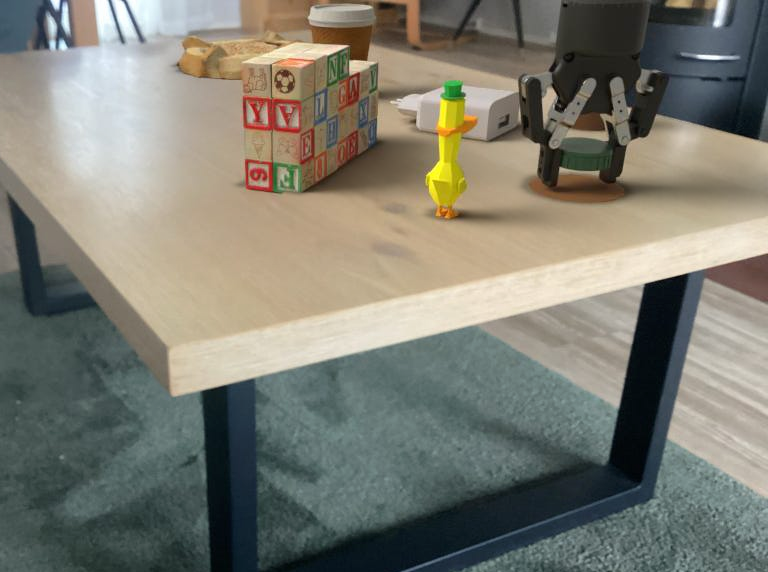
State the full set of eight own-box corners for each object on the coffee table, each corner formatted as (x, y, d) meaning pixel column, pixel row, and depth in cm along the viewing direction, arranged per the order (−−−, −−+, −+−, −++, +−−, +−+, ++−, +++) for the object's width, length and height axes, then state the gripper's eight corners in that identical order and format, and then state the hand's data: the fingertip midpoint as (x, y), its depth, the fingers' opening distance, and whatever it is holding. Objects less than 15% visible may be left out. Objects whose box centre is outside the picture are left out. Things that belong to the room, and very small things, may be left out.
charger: (410, 114, 115) (517, 129, 107) (374, 127, 108) (485, 145, 100) (412, 77, 112) (522, 89, 105) (376, 88, 106) (490, 103, 98)
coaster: (626, 183, 87) (627, 179, 86) (621, 210, 79) (622, 206, 79) (534, 174, 90) (535, 170, 89) (521, 200, 82) (522, 196, 82)
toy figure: (448, 204, 81) (459, 72, 75) (482, 211, 79) (496, 76, 74) (411, 223, 77) (420, 84, 71) (447, 232, 75) (459, 89, 69)
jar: (609, 125, 108) (624, 37, 103) (607, 135, 104) (623, 44, 99) (566, 122, 110) (578, 35, 105) (563, 131, 105) (575, 42, 100)
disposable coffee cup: (300, 101, 122) (300, 10, 116) (315, 88, 130) (315, 2, 124) (367, 104, 120) (371, 12, 114) (377, 91, 128) (381, 4, 122)
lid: (540, 155, 85) (543, 138, 84) (594, 152, 86) (597, 135, 85) (565, 173, 80) (568, 155, 79) (622, 170, 81) (625, 152, 80)
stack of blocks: (327, 139, 103) (329, 29, 97) (377, 144, 101) (382, 32, 95) (244, 188, 86) (240, 59, 80) (301, 196, 84) (301, 64, 78)
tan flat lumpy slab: (323, 56, 156) (323, 26, 153) (305, 81, 135) (305, 47, 133) (195, 53, 159) (193, 24, 157) (158, 77, 138) (156, 45, 136)
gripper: (660, -11, 80) (628, 169, 88) (512, -7, 78) (493, 176, 86) (706, -3, 74) (666, 190, 82) (546, 1, 72) (521, 199, 80)
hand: (577, 182), depth 84 cm, fingers closed on lid, 5 cm apart
